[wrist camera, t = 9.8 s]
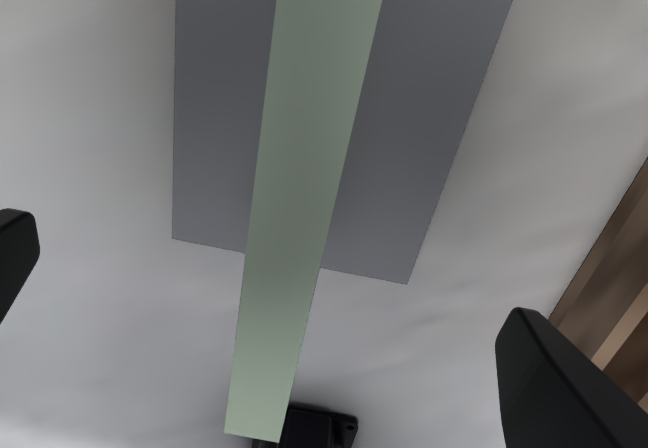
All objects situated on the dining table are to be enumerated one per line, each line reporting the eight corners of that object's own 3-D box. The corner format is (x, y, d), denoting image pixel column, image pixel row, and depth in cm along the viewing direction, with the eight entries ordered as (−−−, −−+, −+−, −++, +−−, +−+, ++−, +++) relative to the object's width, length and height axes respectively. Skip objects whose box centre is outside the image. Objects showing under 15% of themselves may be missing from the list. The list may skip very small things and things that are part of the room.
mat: (406, 278, 25) (407, 284, 24) (175, 233, 24) (172, 238, 24) (566, -159, 15) (572, -161, 15) (185, -249, 15) (179, -254, 14)
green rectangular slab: (313, 231, 23) (279, 442, 14) (281, 224, 23) (223, 432, 14) (389, -124, 15) (424, -180, 6) (340, -135, 15) (302, -208, 6)
